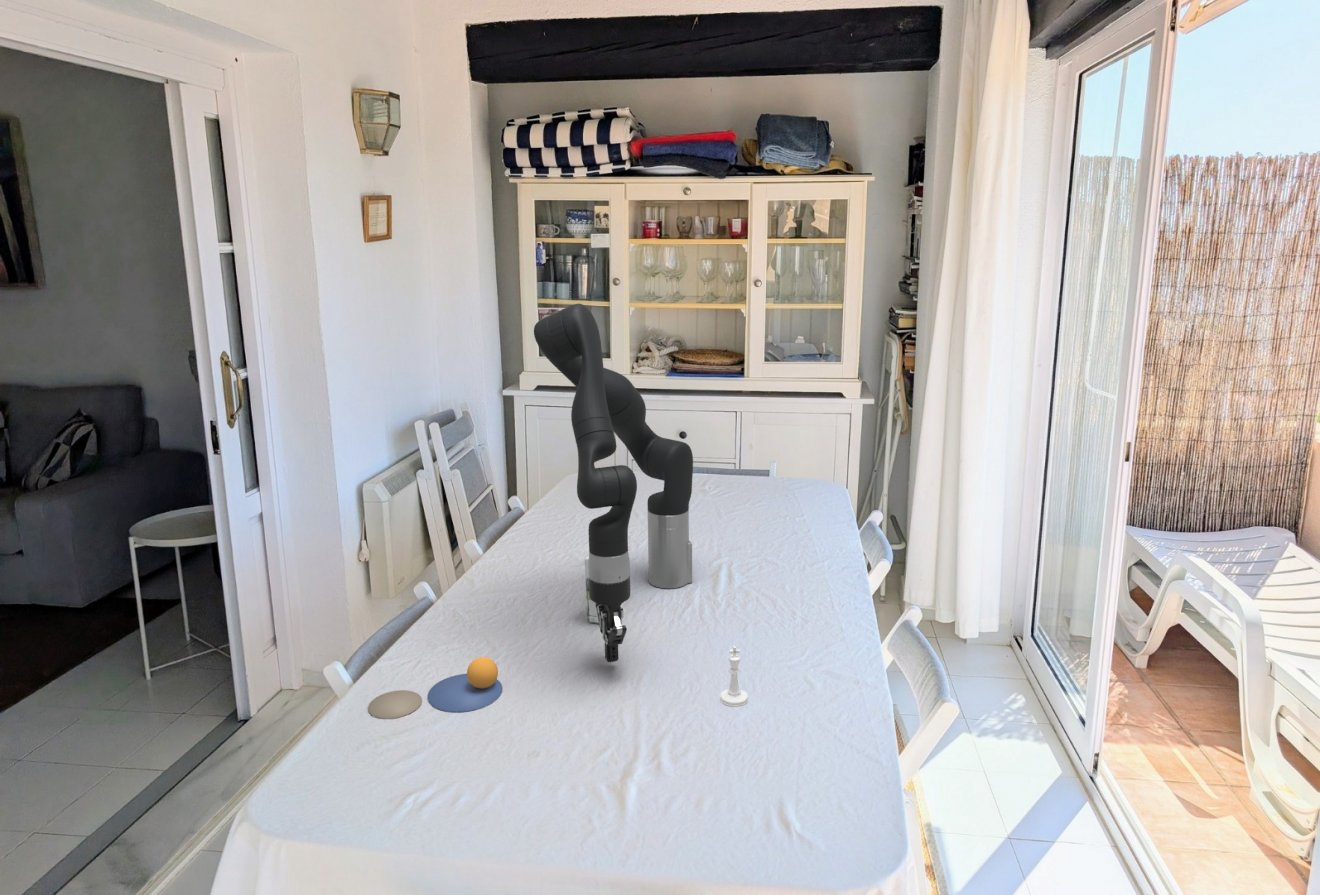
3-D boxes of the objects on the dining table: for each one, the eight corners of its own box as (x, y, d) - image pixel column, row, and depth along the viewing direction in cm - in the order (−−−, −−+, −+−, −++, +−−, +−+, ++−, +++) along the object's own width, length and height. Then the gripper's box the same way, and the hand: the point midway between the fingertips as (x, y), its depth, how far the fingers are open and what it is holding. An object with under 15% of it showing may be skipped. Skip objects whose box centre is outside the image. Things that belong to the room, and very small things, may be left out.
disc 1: (419, 687, 164) (419, 686, 164) (423, 713, 156) (423, 712, 156) (367, 696, 161) (367, 695, 161) (368, 723, 153) (368, 722, 153)
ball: (465, 653, 165) (466, 682, 166) (467, 666, 159) (468, 695, 161) (495, 650, 166) (496, 678, 167) (499, 663, 161) (500, 692, 162)
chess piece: (717, 692, 161) (718, 641, 159) (745, 691, 162) (746, 639, 159) (722, 707, 157) (722, 654, 154) (750, 705, 157) (751, 653, 154)
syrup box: (622, 615, 192) (620, 550, 188) (611, 627, 186) (610, 560, 183) (597, 611, 194) (595, 547, 190) (586, 623, 188) (583, 557, 184)
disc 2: (496, 669, 170) (496, 668, 170) (507, 704, 158) (507, 703, 158) (424, 681, 166) (424, 680, 166) (431, 718, 154) (430, 717, 154)
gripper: (640, 584, 161) (641, 673, 165) (619, 557, 173) (621, 641, 177) (598, 590, 158) (601, 680, 163) (580, 563, 170) (583, 647, 175)
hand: (611, 659), depth 170 cm, fingers closed
